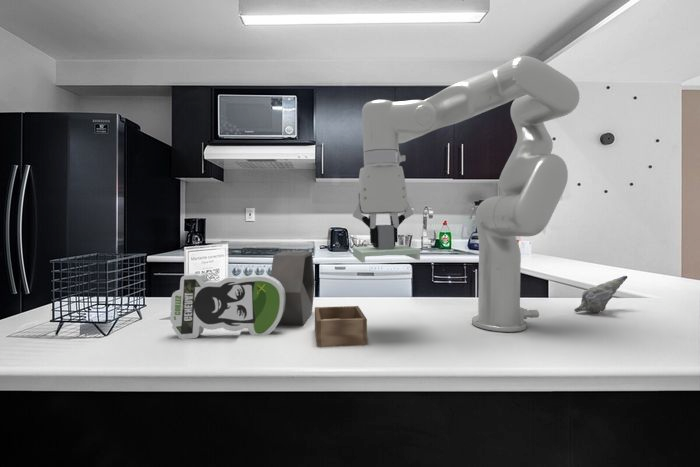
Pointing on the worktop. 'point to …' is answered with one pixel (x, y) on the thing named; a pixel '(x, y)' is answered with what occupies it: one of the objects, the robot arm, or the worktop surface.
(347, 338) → the wooden box
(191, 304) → the cutout
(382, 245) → the lid
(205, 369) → the worktop surface
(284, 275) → the planter
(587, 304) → the seashell
